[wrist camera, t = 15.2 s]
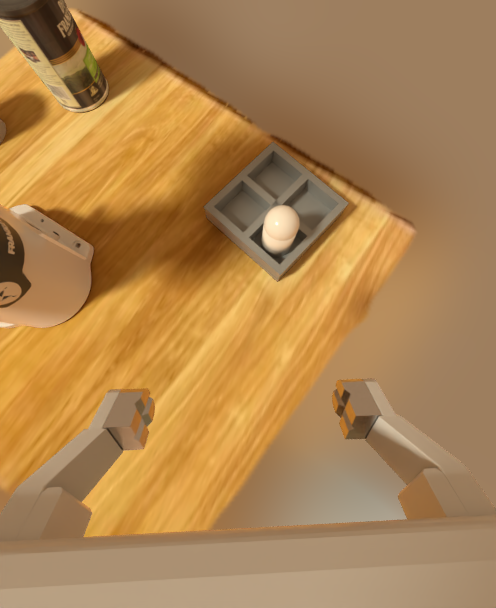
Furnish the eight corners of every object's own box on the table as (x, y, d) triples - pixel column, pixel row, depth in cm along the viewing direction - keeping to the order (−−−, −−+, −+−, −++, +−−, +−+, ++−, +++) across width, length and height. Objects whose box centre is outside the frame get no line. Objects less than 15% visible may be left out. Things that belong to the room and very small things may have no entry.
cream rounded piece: (254, 244, 40) (257, 215, 31) (274, 224, 40) (282, 190, 31) (276, 263, 39) (285, 240, 30) (296, 243, 40) (311, 213, 31)
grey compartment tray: (206, 218, 41) (203, 206, 38) (270, 157, 43) (272, 141, 40) (277, 281, 39) (280, 275, 36) (340, 214, 42) (349, 203, 38)
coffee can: (108, 66, 47) (50, -51, 33) (109, 110, 45) (48, 6, 31) (56, 71, 46) (-26, -45, 33) (55, 115, 45) (-31, 13, 31)
